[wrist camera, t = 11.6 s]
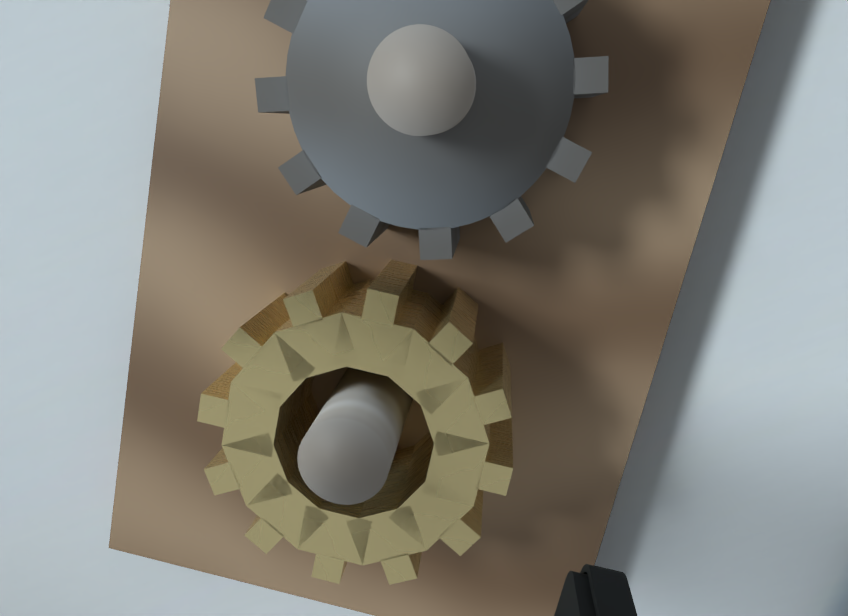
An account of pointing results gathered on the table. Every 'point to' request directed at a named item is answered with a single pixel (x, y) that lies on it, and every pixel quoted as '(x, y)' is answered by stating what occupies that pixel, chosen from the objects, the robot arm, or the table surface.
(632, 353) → the gear board
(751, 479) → the table surface
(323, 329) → the brass gear
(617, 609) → the robot arm
